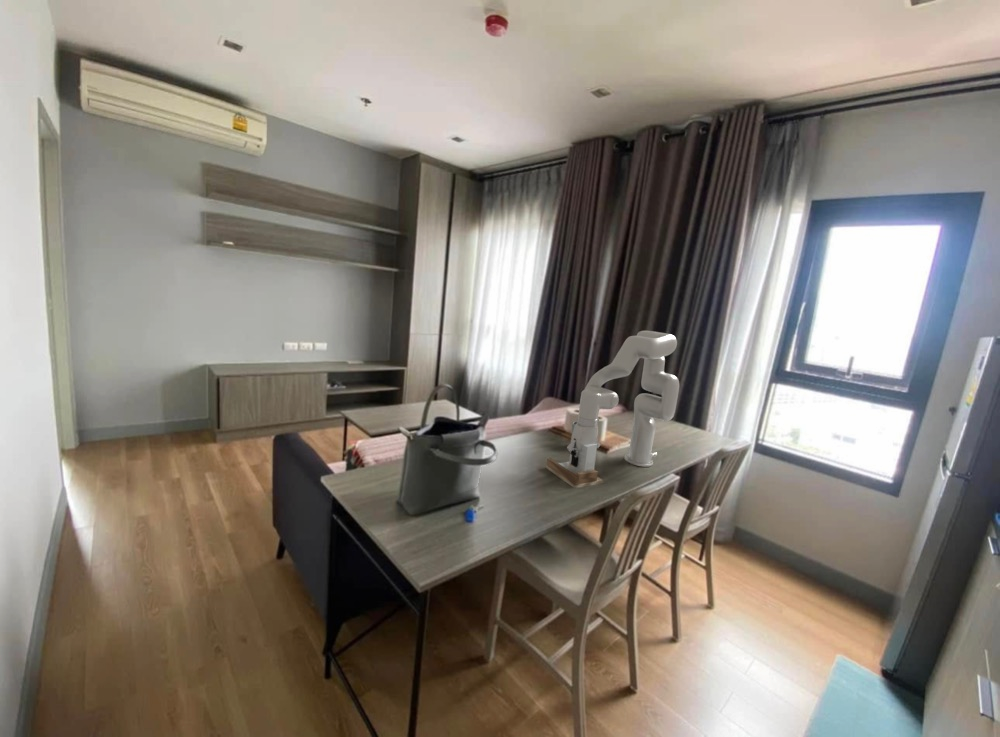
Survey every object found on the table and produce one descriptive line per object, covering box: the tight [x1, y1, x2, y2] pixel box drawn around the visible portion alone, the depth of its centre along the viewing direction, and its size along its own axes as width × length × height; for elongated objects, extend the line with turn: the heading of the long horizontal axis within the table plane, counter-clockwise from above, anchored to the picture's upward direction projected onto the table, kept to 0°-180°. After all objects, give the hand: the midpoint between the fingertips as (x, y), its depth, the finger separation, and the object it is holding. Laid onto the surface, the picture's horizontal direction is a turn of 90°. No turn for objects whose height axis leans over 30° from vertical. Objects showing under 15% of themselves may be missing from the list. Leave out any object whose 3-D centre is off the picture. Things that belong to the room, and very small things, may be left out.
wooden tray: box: [545, 457, 604, 489], centre depth 166 cm, size 14×19×5 cm
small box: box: [568, 444, 598, 475], centre depth 162 cm, size 8×6×13 cm
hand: (581, 464), depth 163 cm, fingers closed on small box, 7 cm apart
